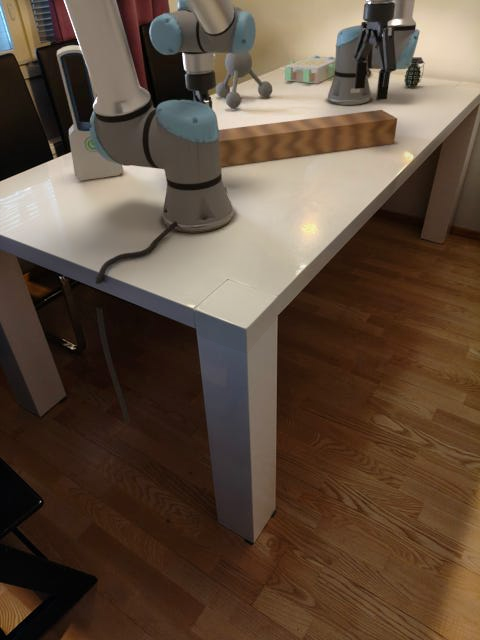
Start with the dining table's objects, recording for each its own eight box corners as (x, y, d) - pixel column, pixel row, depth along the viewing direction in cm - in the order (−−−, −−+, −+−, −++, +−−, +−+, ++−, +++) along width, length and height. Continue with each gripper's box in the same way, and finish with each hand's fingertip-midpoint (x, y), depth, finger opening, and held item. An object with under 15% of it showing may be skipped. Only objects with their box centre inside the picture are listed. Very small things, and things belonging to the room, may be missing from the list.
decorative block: (306, 53, 217) (348, 56, 208) (306, 69, 221) (346, 73, 212) (276, 65, 201) (319, 68, 192) (276, 82, 205) (318, 86, 196)
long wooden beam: (186, 171, 130) (183, 145, 125) (181, 159, 137) (178, 134, 133) (394, 143, 139) (397, 118, 135) (378, 133, 147) (381, 109, 142)
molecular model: (285, 103, 178) (286, 6, 160) (229, 112, 172) (223, 12, 154) (260, 90, 196) (258, 1, 177) (208, 97, 190) (200, 6, 171)
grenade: (402, 88, 186) (407, 59, 180) (402, 85, 191) (406, 56, 185) (420, 88, 185) (425, 59, 179) (420, 85, 189) (424, 56, 183)
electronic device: (76, 181, 127) (42, 52, 109) (76, 171, 133) (43, 47, 115) (124, 174, 130) (98, 47, 111) (122, 165, 135) (97, 42, 117)
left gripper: (224, 78, 112) (230, 172, 126) (206, 61, 130) (213, 146, 143) (192, 81, 111) (201, 176, 125) (178, 64, 128) (188, 149, 142)
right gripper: (419, 5, 112) (405, 103, 125) (371, -3, 131) (363, 82, 144) (389, 7, 111) (378, 106, 124) (345, -1, 130) (339, 85, 143)
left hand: (207, 160), depth 134 cm, fingers closed on long wooden beam, 10 cm apart
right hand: (370, 93), depth 134 cm, fingers open, 13 cm apart
